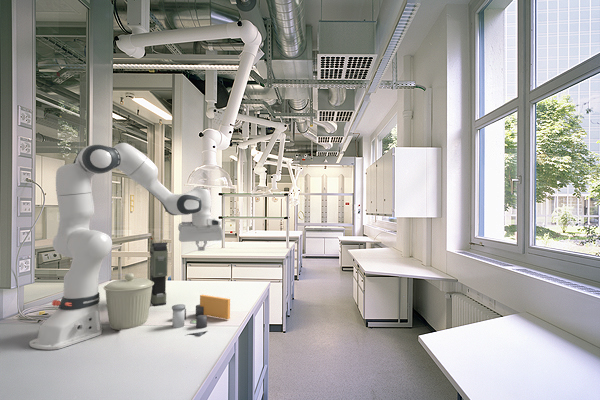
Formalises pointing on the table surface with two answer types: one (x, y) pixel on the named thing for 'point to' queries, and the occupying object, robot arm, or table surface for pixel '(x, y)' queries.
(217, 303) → the tan wooden plank
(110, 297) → the canister
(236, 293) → the table surface
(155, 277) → the device
